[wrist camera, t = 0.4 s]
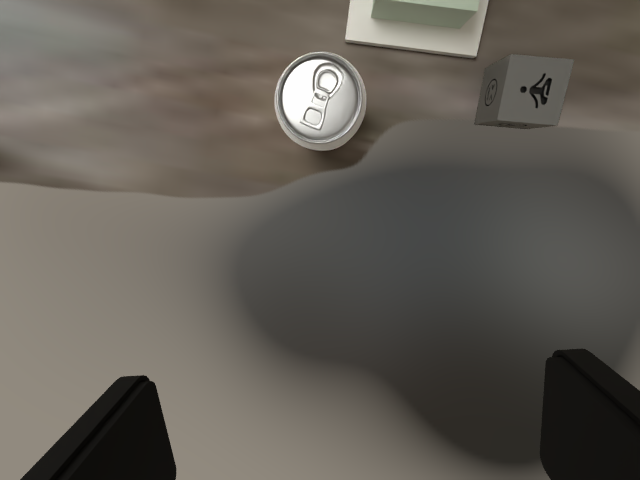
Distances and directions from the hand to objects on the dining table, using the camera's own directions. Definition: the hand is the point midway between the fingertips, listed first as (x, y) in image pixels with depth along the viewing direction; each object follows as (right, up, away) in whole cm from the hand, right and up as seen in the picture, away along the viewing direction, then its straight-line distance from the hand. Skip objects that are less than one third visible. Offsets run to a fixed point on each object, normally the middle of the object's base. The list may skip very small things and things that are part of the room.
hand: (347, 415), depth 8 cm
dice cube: (+17, +18, +25) cm, 35 cm away
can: (0, +16, +26) cm, 31 cm away
